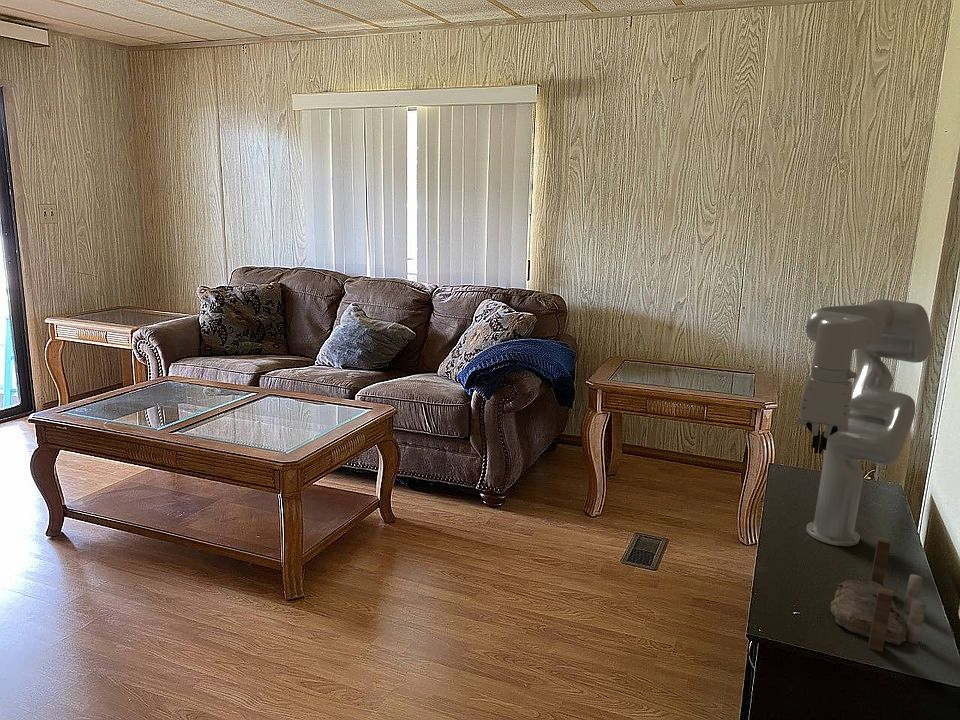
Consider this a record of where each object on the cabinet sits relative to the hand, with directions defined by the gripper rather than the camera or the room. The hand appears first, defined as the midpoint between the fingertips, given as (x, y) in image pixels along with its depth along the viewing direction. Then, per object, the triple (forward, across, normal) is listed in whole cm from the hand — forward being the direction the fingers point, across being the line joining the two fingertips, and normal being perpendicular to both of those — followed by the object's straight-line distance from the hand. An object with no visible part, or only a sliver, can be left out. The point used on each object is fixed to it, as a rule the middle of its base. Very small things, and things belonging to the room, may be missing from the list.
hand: (818, 451), depth 170 cm
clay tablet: (+29, -14, +15) cm, 36 cm away
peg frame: (+29, -19, +16) cm, 38 cm away
